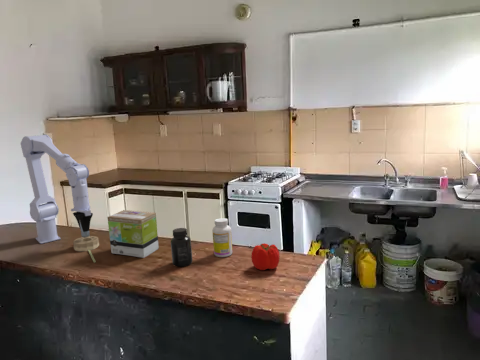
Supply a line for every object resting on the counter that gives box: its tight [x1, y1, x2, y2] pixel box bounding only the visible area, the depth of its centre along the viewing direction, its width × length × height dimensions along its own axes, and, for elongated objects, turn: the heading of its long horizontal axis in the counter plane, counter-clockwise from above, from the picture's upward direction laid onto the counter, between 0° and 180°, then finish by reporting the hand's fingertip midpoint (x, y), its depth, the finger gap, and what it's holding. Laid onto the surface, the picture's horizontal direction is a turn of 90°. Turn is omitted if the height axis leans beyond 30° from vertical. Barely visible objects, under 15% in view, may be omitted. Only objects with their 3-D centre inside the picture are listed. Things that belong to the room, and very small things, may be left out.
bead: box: [72, 235, 100, 252], centre depth 161 cm, size 9×9×3 cm
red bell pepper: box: [251, 243, 281, 271], centre depth 132 cm, size 9×9×8 cm
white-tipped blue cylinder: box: [79, 220, 91, 237], centre depth 159 cm, size 3×3×7 cm
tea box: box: [107, 209, 160, 259], centre depth 152 cm, size 15×10×15 cm
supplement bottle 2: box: [212, 217, 233, 258], centre depth 145 cm, size 7×7×13 cm
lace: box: [87, 250, 97, 263], centre depth 150 cm, size 14×1×1 cm, turn 28°
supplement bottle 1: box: [170, 227, 193, 268], centre depth 138 cm, size 7×7×12 cm
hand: (84, 230), depth 159 cm, fingers closed on white-tipped blue cylinder, 3 cm apart
